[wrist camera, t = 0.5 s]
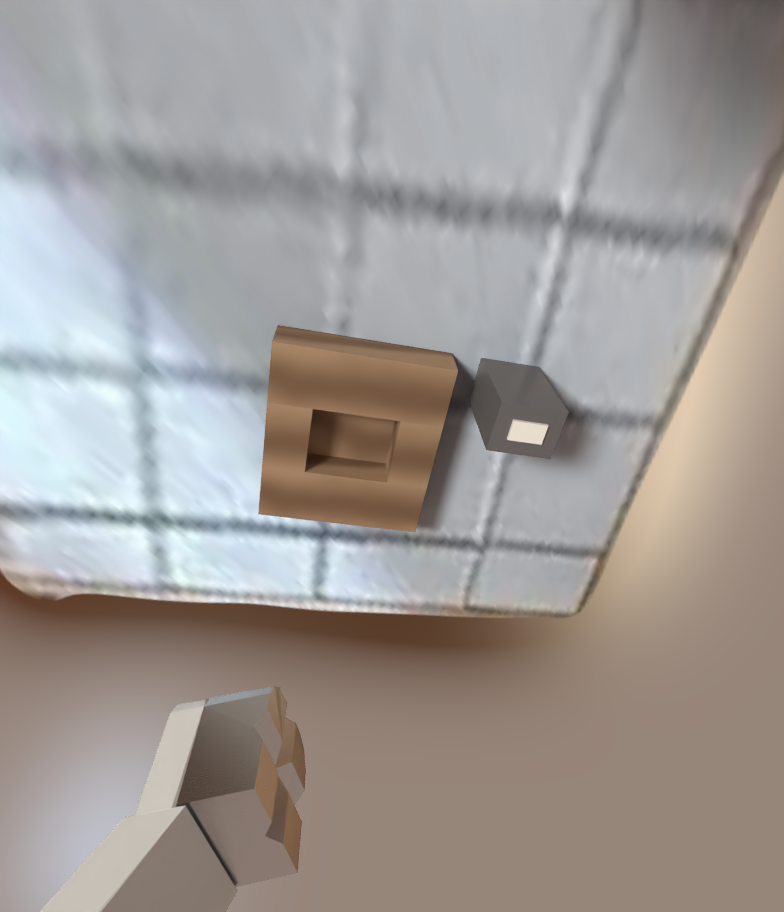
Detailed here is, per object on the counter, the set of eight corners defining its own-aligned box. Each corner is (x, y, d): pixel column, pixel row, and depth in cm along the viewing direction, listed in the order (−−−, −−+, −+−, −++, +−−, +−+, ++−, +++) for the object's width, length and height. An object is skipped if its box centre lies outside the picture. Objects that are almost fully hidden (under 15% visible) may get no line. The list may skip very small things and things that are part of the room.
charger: (481, 357, 46) (502, 403, 39) (539, 367, 47) (570, 413, 40) (468, 401, 48) (487, 451, 41) (524, 409, 49) (551, 460, 42)
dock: (278, 325, 44) (272, 341, 41) (451, 353, 46) (458, 370, 43) (264, 490, 52) (258, 514, 49) (412, 508, 54) (415, 532, 51)
